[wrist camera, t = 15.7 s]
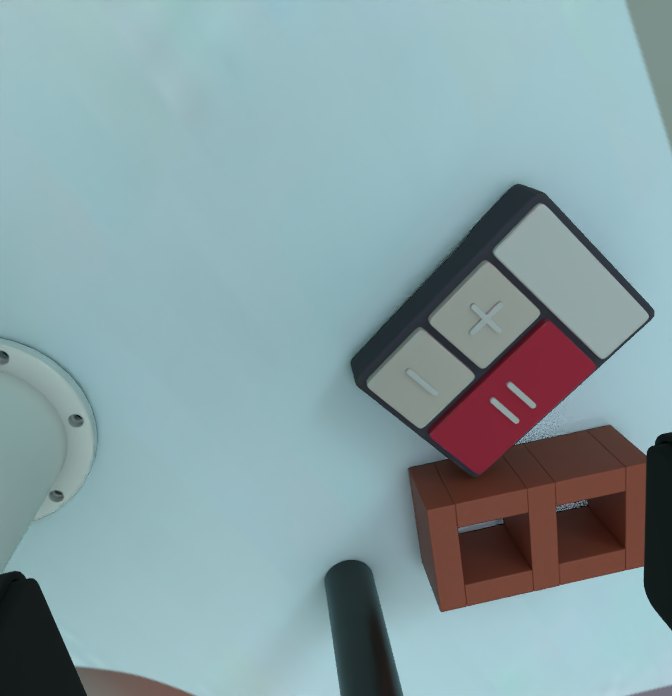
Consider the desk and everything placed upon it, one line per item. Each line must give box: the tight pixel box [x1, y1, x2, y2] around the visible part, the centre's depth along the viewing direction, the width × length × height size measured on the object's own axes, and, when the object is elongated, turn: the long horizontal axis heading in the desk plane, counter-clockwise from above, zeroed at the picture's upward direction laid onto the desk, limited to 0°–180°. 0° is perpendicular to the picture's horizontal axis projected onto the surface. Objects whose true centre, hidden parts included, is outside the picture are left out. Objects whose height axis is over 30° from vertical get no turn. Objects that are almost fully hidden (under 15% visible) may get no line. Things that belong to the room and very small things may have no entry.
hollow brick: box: [408, 425, 646, 612], centre depth 41 cm, size 15×8×5 cm, turn 100°
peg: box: [325, 560, 403, 696], centre depth 39 cm, size 4×4×12 cm
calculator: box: [351, 184, 654, 477], centre depth 37 cm, size 11×4×15 cm
